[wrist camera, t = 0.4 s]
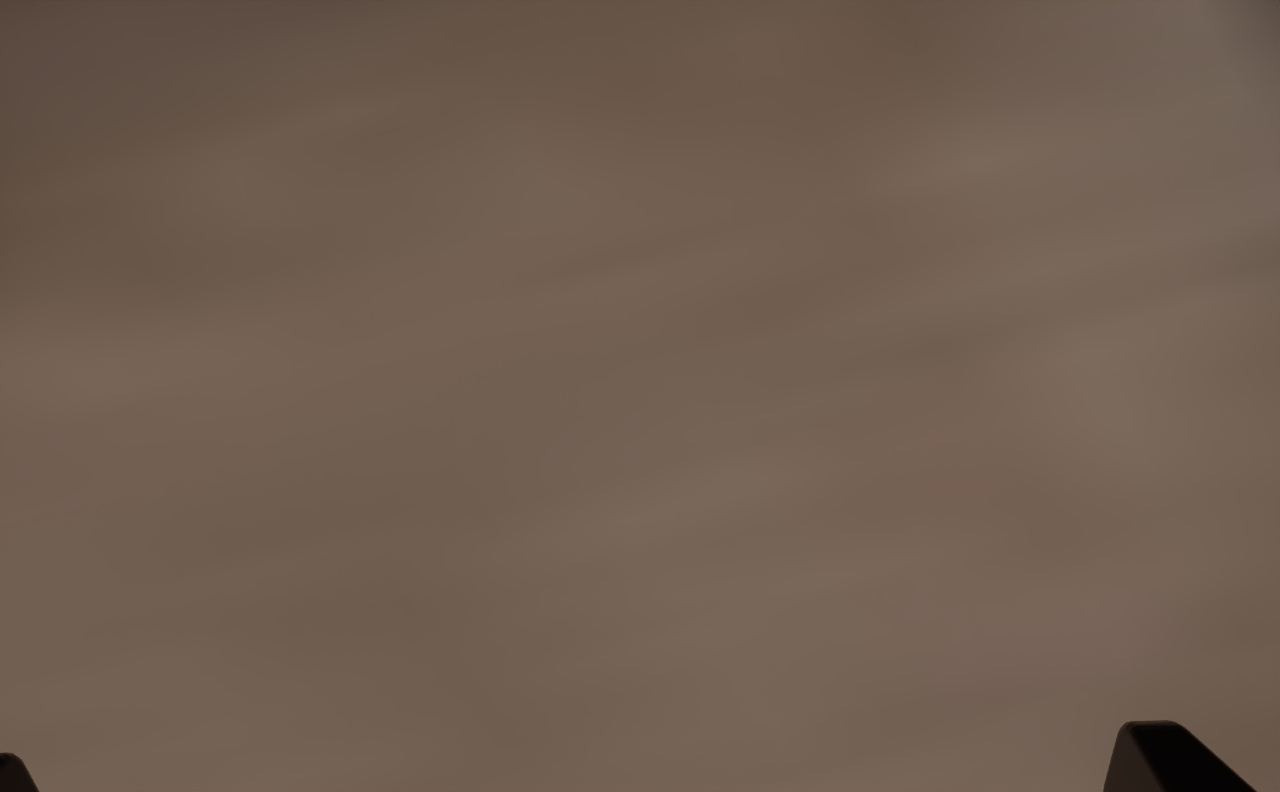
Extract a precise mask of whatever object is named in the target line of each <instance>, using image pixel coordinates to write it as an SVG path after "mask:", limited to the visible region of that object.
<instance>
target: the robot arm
mask: <svg viewBox="0 0 1280 792" xmlns="http://www.w3.org/2000/svg"><path fill="white" fill-rule="evenodd" d="M0 792H39V790H38V788H37V787H36V785H35V783H34V781H33V779H32V777H31V775H30V774H29V772H28V770H27V768H26V766H25V764H24V763H23V761H22V760H21V759H20V758H19V757H18V756H16V755H14V754H13V753H0ZM1103 792H1257V791H1256V790H1255V789H1253V788H1252V787H1251V786H1250V785H1249V784H1248V783H1247V782H1246V781H1244V780H1243V779H1242V778H1241V777H1240V776H1239V775H1238V774H1237V773H1236V772H1234V771H1233V770H1232V769H1231V768H1230V767H1229V766H1228V765H1227V764H1225V763H1224V762H1223V761H1222V760H1221V759H1220V758H1219V757H1218V756H1216V755H1215V754H1214V753H1213V752H1212V751H1211V750H1210V749H1209V748H1208V747H1206V746H1205V745H1204V744H1203V743H1202V742H1201V741H1200V740H1199V739H1197V738H1196V737H1195V736H1194V735H1193V734H1192V733H1191V732H1190V731H1189V730H1187V729H1186V728H1185V727H1183V726H1182V725H1180V724H1178V723H1176V722H1173V721H1167V720H1161V721H1131V722H1127V723H1125V724H1124V725H1123V726H1122V727H1121V728H1120V730H1119V732H1118V735H1117V738H1116V742H1115V746H1114V750H1113V753H1112V757H1111V761H1110V765H1109V769H1108V772H1107V776H1106V780H1105V784H1104V790H1103Z"/></svg>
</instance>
